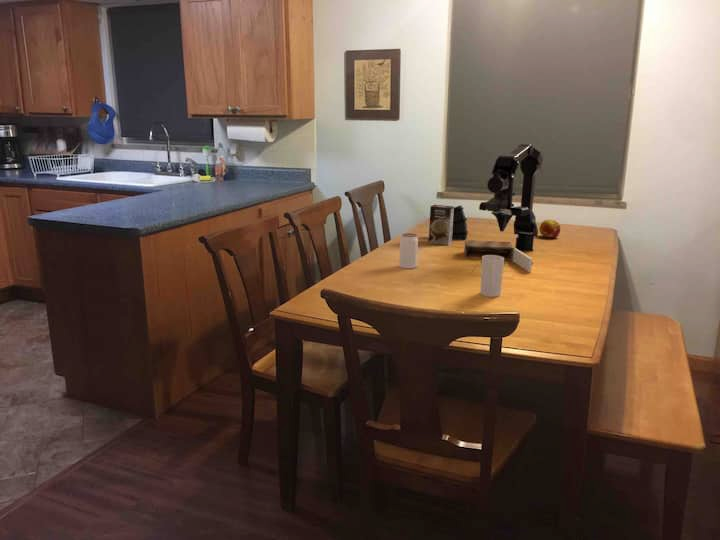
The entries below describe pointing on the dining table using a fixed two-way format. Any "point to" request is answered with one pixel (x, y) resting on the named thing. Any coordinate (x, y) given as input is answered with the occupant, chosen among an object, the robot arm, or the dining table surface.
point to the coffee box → (441, 224)
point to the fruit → (550, 228)
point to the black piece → (459, 224)
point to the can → (408, 251)
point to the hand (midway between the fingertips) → (501, 231)
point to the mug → (491, 275)
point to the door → (522, 259)
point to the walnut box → (487, 249)
